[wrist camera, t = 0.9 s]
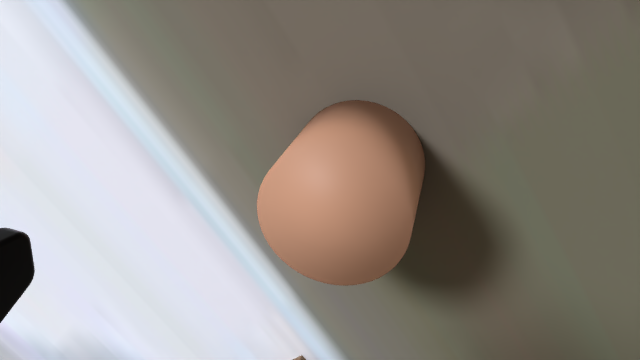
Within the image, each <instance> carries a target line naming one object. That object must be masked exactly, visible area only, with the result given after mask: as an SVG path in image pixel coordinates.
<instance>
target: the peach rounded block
mask: <svg viewBox="0 0 640 360" xmlns="http://www.w3.org/2000/svg"><path fill="white" fill-rule="evenodd" d="M424 173H425V156H424V151H423V148H422V145H421V142H420V140H419V138H418V136H417V134H416V133H415V131H414V130H413V128H412V127H411V126H410V125H409V124H408V122H407V121H406V120H404V119H403V118H402V117H401V116H400V115H398V114H397V113H396V112H394V111H393V110H391V109H389V108H387V107H385V106H382V105H380V104H377V103H373V102H369V101H360V100H352V101H344V102H340V103H336V104H333V105H331V106H329V107H326V108H325V109H323V110H322V111H320V112H319V113H317V114H316V115H315V116H314V117H313V118H312V119H311V120H310V121H309V123H308V124H307V125H306V126H305V127H304V129H303V130H302V131H301V132H300V134H299V135H298V136H297V137H296V138H295V140H294V141H293V142H292V143H291V145H290V146H289V147H288V148H287V149H286V151H285V152H284V153H283V154H282V156H281V157H280V158H279V159H278V160H277V162H276V163H275V164H274V165H273V167H272V168H271V169H270V170H269V171H268V173H267V175H266V176H265V178H264V179H263V182H262V184H261V186H260V190H259V193H258V200H257V213H258V219H259V223H260V226H261V230H262V232H263V234H264V236H265V238H266V240H267V242H268V243H269V245H270V247H271V248H272V249H273V250H274V252H275V253H276V254H277V255H278V256H279V257H280V258H281V259H282V260H283V261H284V262H285V263H286V264H287V265H289V266H290V267H291V268H293V269H294V270H296V271H297V272H299V273H301V274H303V275H304V276H306V277H309V278H311V279H314V280H316V281H320V282H323V283H327V284H333V285H357V284H363V283H366V282H370V281H373V280H375V279H377V278H380V277H381V276H383V275H385V274H386V273H388V272H389V271H390V270H391V269H393V268H394V267H395V266H396V265H397V264H398V262H399V261H400V260H401V258H402V257H403V255H404V254H405V252H406V250H407V248H408V245H409V242H410V238H411V234H412V229H413V225H414V220H415V216H416V211H417V206H418V202H419V197H420V193H421V188H422V183H423V179H424Z"/></svg>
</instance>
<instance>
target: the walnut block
mask: <svg viewBox="0 0 640 360" xmlns="http://www.w3.org/2000/svg"><path fill="white" fill-rule="evenodd" d="M293 360H306V359H305V358H304V357H303V356H299V357H297V358H295V359H293Z"/></svg>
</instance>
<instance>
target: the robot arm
mask: <svg viewBox="0 0 640 360" xmlns="http://www.w3.org/2000/svg"><path fill="white" fill-rule="evenodd" d="M34 271H35V270H34V262H33V256H32V249H31V242H30V238H29V237H28V235H27V234H25V233H23V232H20V231H17V230H13V229H10V228H0V323H1V321H2V320H3V319H4V318H5V316H6V315H7V314H8V312H9V311H10V310H11V308H12V307H13V306H14V304H15V303H16V302H17V301H18V299H19V298H20V297H21V295H22V294H23V293H24V291H25V290H26V289H27V288H28V286H29V285H30V283H31V281H32V279H33V276H34Z"/></svg>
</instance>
